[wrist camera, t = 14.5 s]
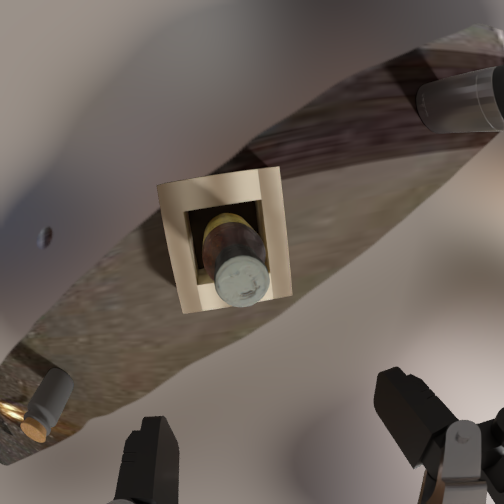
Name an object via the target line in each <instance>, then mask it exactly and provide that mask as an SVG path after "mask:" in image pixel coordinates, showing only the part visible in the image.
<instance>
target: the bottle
mask: <svg viewBox="0 0 504 504" xmlns="http://www.w3.org/2000/svg"><path fill="white" fill-rule="evenodd" d="M73 387H74V383H73V381H72V379H71V377H70V376H69V375H68V374H67V373H66V372H64V371H63V370H61V369H58V368H52V369H50V370H49V371H48V373H47V374H46V376H45V377H44V379H43V380H42V382H41V384H40V385H39V387H38V388H37V390H36V392H35V393H34V395H33V397H32V398H31V400H30V402H29V404H28V412H26V413H25V415H24V421H23V422H22V423H21V428H22V430H23V431H24V433H25V434H26V435H27V436H29V437H30V438H31V439H33V440H35V441H37V442H44V441H45V438H46V436H47V435H49V433H50V431H51V428H50V427H54V426H55V425H56V423H57V421H58V419H59V417H60V415H61V413H62V411H63V408H64V406H65V404H66V402H67V400H68V398H69V396H70V394H71V392H72V390H73Z"/></svg>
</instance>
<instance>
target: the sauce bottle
mask: <svg viewBox="0 0 504 504" xmlns="http://www.w3.org/2000/svg"><path fill="white" fill-rule="evenodd" d="M202 259H203V264H204V268H205V270H206V272H207V273H208V275H209V276H210V278H211V279H212V280H214V284H215V289H216V292H217V294H218V295H219V297H220V298H221V299H222V300H223V301H225V302H226V303H227V304H229V305H232V306H235V307H248V306H251V305H253V304H255V303H256V302H258V301H259V300H260V299H262V298H263V296H264V295H265V294H266V292H267V290H268V288H269V284H270V278H269V273H268V270H267V267H266V265H265V264H264V263H265V259H266V251H265V246H264V243H263V241H262V239H261V238H260V236H259V235H258V234H257V233H256V232H255V230H254V229H253V228H252V227H251V226H250V225H249V224H248V223H247V222H246V221H245V220H244V219H243V218H242V217H241V216H239V215H236V214H233V213H222V214H219V215H217V216H216V217H214V218H212V219H211V221H210V222H209V223H208V224H207V226H206V228H205V231H204V238H203V248H202Z"/></svg>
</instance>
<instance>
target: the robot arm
mask: <svg viewBox="0 0 504 504" xmlns="http://www.w3.org/2000/svg"><path fill="white" fill-rule="evenodd" d="M416 104H417V109H418V113H419V115H420V117H421V119H422V121H423V123H424V124H425V125H426V126H427V127H428V128H429V129H430V130H431V131H433V132H435V133H458V132H485V131H504V65H501V66H497V67H491V68H487V69H482V70H478V71H473V72H469V73H465V74H461V75H457V76H453V77H449V78H445V79H441V80H437V81H434V82H430V83H427V84H424V85H422V86H421V87H420V88H419V90H418V92H417V96H416ZM374 407H375V410H376V412H377V414H378V416H379V417H380V419H381V420H382V422H383V423H384V425H385V426H386V428H387V429H388V431H389V432H390V434H391V435H392V437H393V438H394V439H395V441H396V443H397V444H398V446H399V447H400V449H401V451H402V452H403V454H404V455H405V457H406V458H407V460H408V461H409V463H410V464H411V466H412V467H413V469H415V468H417V467H419V466H421V465H424V466H425V468H426V470H425V472H424V477H423V482H422V486H421V491H420V495H419V499H418V503H417V504H486V495H487V491H488V493H489V494H490V496H491V498H492V499H493V501H494V502H495V504H504V408H502V409H501V410H500V411H499V412H498V414H497V416H496V418H495V419H492V420H489V421H486V422H483V423H480V424H475V423H474V422H472V421H469V420H458V419H457V418H456V417H455V416H454V414H452V412H451V411H450V410H449V409H448V408H447V407H446V406H445V404H444V403H443V402H442V401H441V400H440V399H439V398H438V397H437V396H435V393H433V391H432V390H431V389H429V387H428V386H427V385H426V384H425V383H424V382H423V380H422V379H420V378H418V377H415V376H414V375H412V374H410V375H407V376H406V374H405V373H404V372H403V371H402V370H401V369H400V368H399V367H393V368H391V369H388V370H385V371H382V372H380V373H379V374H378V376H377V382H376V389H375V394H374ZM123 452H124V454H123V456H122V463H121V466H120V471H119V476H118V482H117V487H116V493H115V497H114V499H113V501H111V502H109V503H107V504H178V485H179V447H178V442H177V440H176V438H175V436H174V434H173V432H172V430H171V428H170V426H169V424H168V422H167V420H166V418H165V417H164V416H155V417H144V418H143V420H142V426H141V430H140V431H132V433H131V434H130V436H129V437H128V439H127V440H126V442H125V446H124V451H123Z"/></svg>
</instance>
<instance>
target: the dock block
mask: <svg viewBox="0 0 504 504" xmlns="http://www.w3.org/2000/svg"><path fill="white" fill-rule="evenodd" d="M157 191H158V197H159V203H160V208H161V214H162V219H163V225H164V230H165V235H166V240H167V245H168V250H169V255H170V260H171V264H172V269H173V273H174V278H175V282H176V286H177V291H178V295H179V299H180V303H181V307H182V311H183V314H186V313H193V312H199V311H206V310H212V309H218V308H224V307H230V306H232V305H229V304H227V303H226V302H225V301H223V300H222V299H221V298H220V297H219V295H218V294H217V292H216V289H215V284H214V280H212V279H211V278H210V276H209V275H208V273H207V272H206V270H205V268H204V269H198V264H197V258H196V253H195V248H194V242H193V237H192V231H191V226H190V220H189V214H188V211H190V210H196V209H202V208H208V207H214V206H221V205H227V204H234V203H240V202H247V201H254V200H255V207H256V215H257V223H258V231H259V236H260V238H261V239H262V241H263V243H264V246H265V251H266V259H265V263H264V264H265V265H266V267H267V270H268V273H269V278H270V284H269V288H268V290H267V292H266V294H265V295H264V296H263V298H262V299H260V300H259V301H265V300H270V299H276V298H281V297H286V296H291V295H292V284H291V273H290V262H289V252H288V242H287V232H286V222H285V213H284V204H283V195H282V186H281V178H280V170H279V167H267V168H258V169H251V170H243V171H236V172H229V173H222V174H215V175H209V176H203V177H197V178H191V179H185V180H179V181H174V182H169V183H164V184H160V185H157ZM259 301H258V302H259Z"/></svg>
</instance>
